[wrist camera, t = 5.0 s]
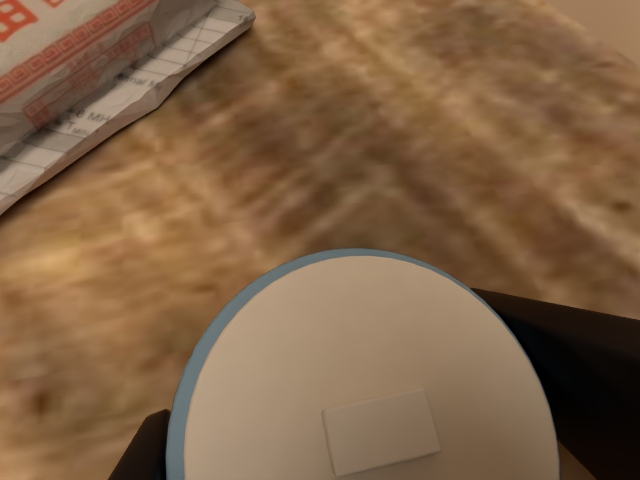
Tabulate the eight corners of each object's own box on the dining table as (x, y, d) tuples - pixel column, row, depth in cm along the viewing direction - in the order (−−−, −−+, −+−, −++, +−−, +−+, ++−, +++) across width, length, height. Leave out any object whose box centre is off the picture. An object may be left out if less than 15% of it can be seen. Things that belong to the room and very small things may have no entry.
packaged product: (92, -161, 19) (252, -66, 17) (127, -53, 24) (258, 32, 22) (-383, 35, 13) (-204, 222, 11) (-211, 135, 17) (-63, 280, 15)
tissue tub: (419, 345, 16) (579, 260, 7) (409, 552, 13) (644, 796, 5) (251, 316, 16) (215, 195, 7) (205, 519, 13) (62, 709, 4)
